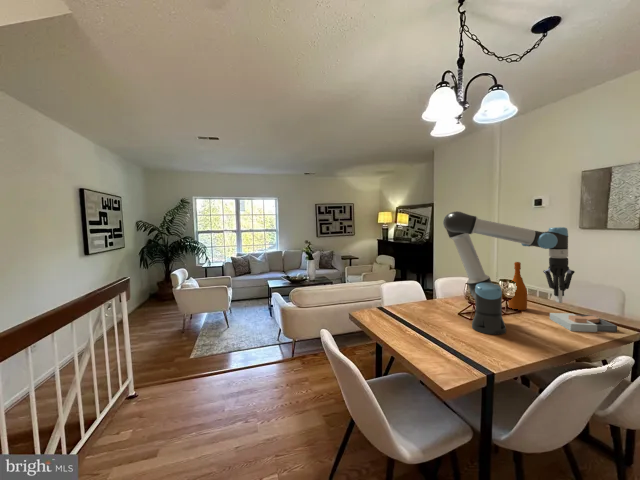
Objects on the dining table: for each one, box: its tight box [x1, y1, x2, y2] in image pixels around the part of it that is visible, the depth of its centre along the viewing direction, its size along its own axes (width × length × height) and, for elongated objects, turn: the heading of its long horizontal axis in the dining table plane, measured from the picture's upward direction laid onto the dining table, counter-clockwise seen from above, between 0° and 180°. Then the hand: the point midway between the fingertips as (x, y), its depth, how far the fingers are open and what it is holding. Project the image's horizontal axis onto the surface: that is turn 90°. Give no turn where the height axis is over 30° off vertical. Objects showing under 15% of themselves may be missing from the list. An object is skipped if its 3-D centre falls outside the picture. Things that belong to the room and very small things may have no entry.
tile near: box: [569, 315, 587, 323], centre depth 141 cm, size 5×5×2 cm
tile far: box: [584, 315, 600, 323], centre depth 147 cm, size 5×5×2 cm
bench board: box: [549, 312, 598, 333], centre depth 144 cm, size 11×18×4 cm, turn 167°
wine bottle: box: [507, 261, 528, 311], centre depth 174 cm, size 10×10×30 cm
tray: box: [576, 314, 618, 333], centre depth 143 cm, size 8×16×3 cm, turn 167°
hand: (559, 302), depth 142 cm, fingers closed
